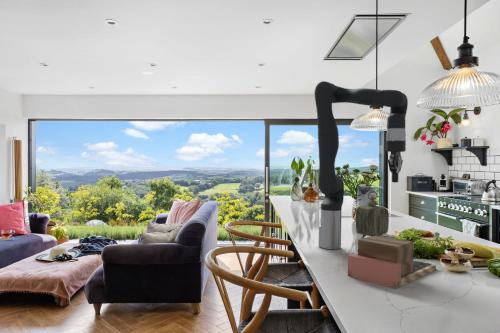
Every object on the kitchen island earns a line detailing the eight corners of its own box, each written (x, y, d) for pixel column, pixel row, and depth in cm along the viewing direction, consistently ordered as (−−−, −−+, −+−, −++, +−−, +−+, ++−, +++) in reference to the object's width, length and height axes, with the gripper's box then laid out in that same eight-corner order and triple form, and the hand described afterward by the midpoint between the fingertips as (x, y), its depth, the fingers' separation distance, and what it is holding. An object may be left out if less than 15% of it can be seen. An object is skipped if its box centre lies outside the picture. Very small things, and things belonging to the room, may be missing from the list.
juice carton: (376, 231, 212) (377, 183, 211) (371, 234, 203) (372, 184, 203) (360, 229, 217) (361, 183, 216) (355, 232, 208) (355, 184, 207)
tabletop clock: (374, 239, 191) (375, 190, 191) (389, 242, 184) (390, 191, 183) (355, 242, 183) (356, 191, 183) (370, 245, 176) (371, 192, 175)
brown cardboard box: (374, 262, 138) (375, 235, 138) (412, 270, 127) (413, 241, 127) (357, 268, 130) (357, 239, 129) (396, 278, 119) (397, 246, 119)
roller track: (391, 260, 150) (391, 242, 150) (436, 269, 137) (436, 250, 137) (347, 275, 128) (348, 255, 128) (396, 288, 116) (396, 266, 116)
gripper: (391, 141, 161) (390, 181, 161) (381, 139, 150) (380, 182, 150) (409, 140, 156) (408, 182, 157) (400, 139, 146) (400, 183, 146)
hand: (395, 182), depth 153 cm, fingers closed
